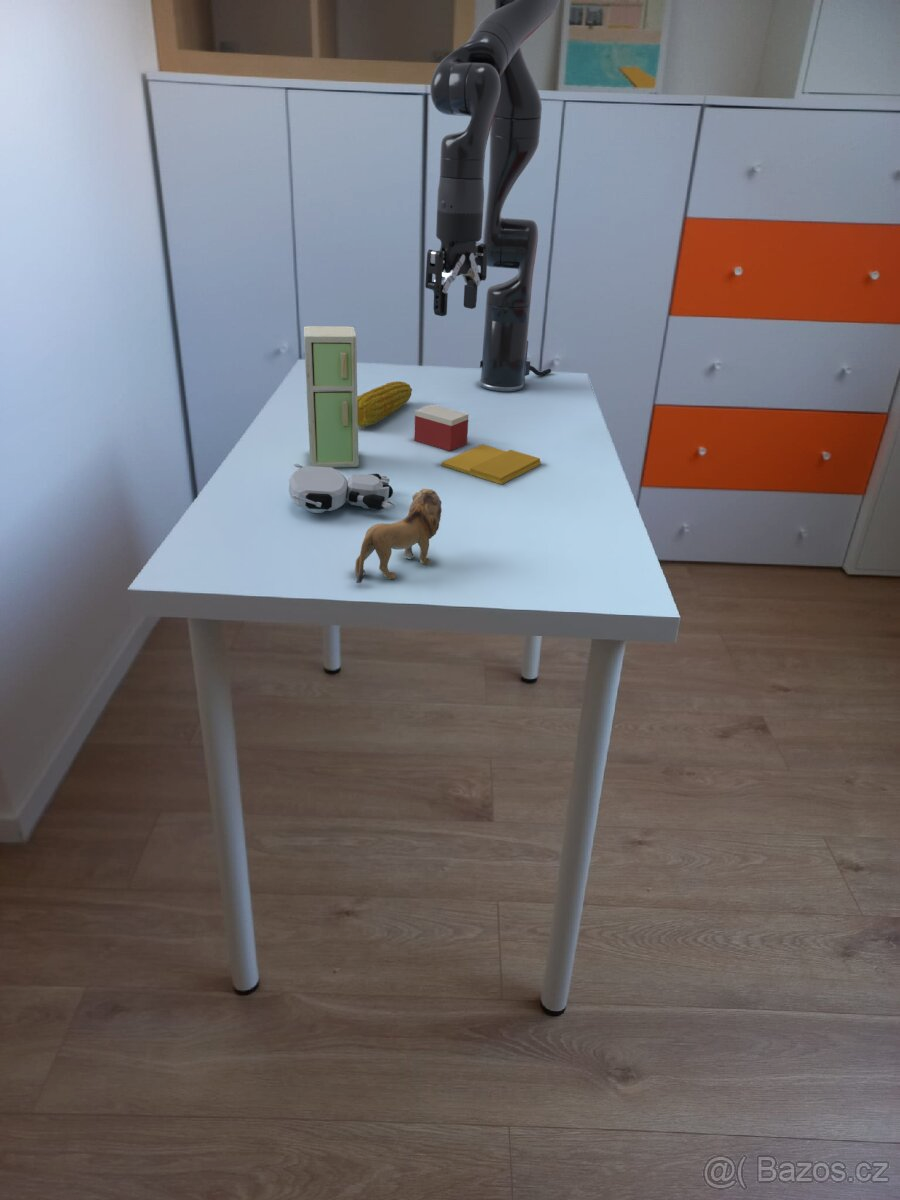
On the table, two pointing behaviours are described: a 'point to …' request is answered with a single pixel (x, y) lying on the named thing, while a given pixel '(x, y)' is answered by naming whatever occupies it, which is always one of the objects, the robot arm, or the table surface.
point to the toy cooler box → (441, 427)
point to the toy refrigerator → (332, 395)
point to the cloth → (492, 463)
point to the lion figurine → (403, 533)
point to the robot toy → (338, 489)
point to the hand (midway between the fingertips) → (455, 311)
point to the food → (382, 402)
